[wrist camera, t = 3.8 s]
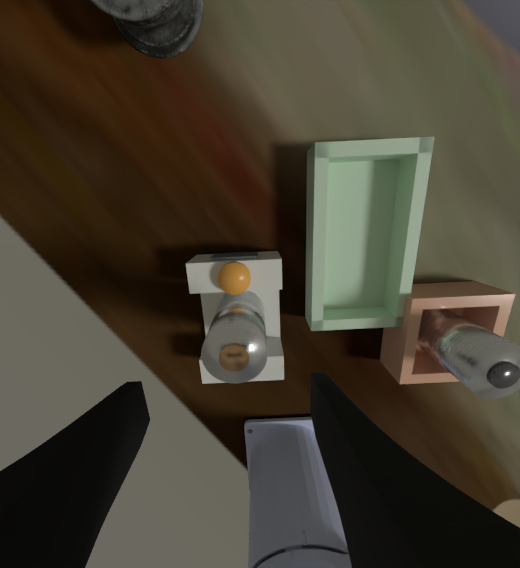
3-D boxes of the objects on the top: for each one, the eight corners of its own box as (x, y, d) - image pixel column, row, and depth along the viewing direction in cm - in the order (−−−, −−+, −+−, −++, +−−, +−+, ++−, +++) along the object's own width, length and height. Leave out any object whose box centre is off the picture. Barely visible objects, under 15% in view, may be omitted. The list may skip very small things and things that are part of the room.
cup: (458, 356, 21) (490, 379, 18) (379, 359, 21) (399, 384, 18) (475, 281, 19) (515, 293, 16) (388, 285, 19) (412, 298, 16)
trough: (388, 313, 19) (405, 326, 17) (305, 317, 19) (311, 331, 17) (409, 146, 16) (434, 136, 14) (307, 151, 16) (315, 142, 14)
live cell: (265, 330, 19) (268, 385, 13) (220, 332, 19) (203, 388, 13) (263, 287, 18) (266, 327, 12) (215, 290, 18) (195, 330, 12)
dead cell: (446, 343, 20) (529, 401, 14) (403, 345, 20) (466, 404, 14) (455, 302, 19) (548, 347, 13) (409, 305, 19) (481, 350, 13)
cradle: (280, 355, 20) (285, 385, 17) (209, 359, 20) (200, 389, 17) (277, 248, 18) (282, 257, 14) (196, 252, 18) (182, 262, 14)
